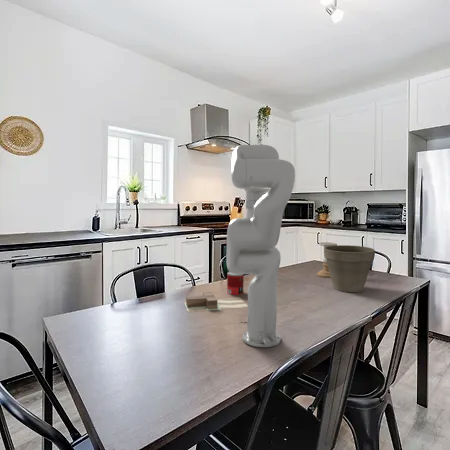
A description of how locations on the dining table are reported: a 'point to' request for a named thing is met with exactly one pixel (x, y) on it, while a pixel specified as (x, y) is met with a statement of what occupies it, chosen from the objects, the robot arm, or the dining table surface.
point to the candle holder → (325, 262)
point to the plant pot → (349, 266)
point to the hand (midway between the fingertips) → (254, 248)
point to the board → (224, 304)
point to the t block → (202, 301)
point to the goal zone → (206, 307)
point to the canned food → (235, 283)
